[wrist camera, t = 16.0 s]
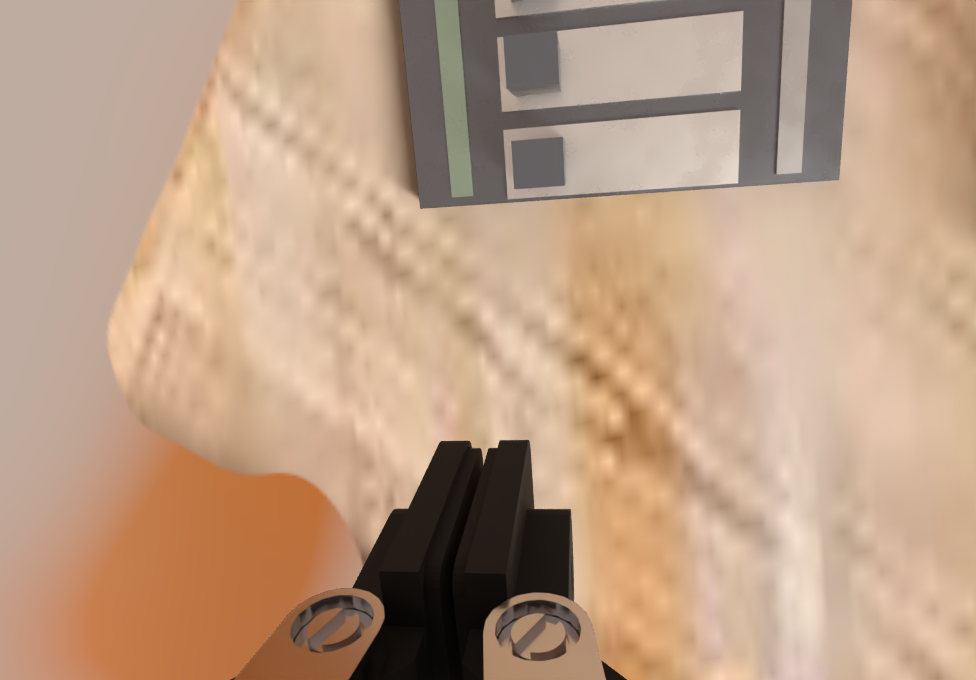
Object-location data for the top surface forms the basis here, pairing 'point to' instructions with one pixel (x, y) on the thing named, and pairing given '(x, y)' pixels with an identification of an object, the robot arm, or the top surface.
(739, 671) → the top surface
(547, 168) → the handle
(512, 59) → the handle
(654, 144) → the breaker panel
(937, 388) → the top surface
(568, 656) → the robot arm
